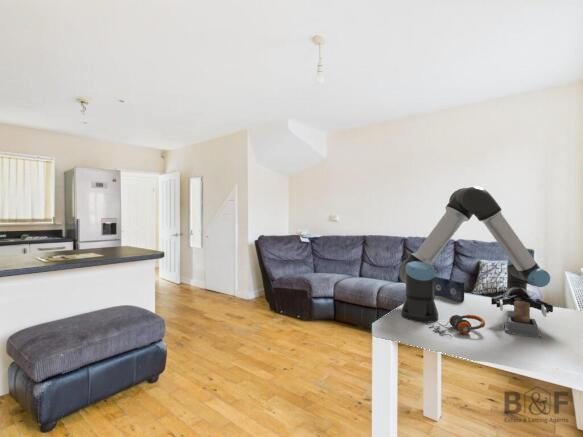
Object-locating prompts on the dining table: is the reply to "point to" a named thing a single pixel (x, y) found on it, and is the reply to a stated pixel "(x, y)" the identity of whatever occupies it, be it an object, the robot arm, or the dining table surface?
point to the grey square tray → (522, 327)
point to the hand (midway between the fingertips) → (522, 310)
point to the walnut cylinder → (522, 312)
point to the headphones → (460, 324)
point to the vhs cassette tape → (449, 289)
